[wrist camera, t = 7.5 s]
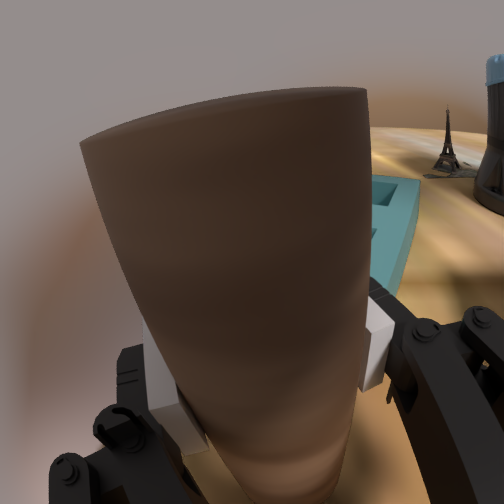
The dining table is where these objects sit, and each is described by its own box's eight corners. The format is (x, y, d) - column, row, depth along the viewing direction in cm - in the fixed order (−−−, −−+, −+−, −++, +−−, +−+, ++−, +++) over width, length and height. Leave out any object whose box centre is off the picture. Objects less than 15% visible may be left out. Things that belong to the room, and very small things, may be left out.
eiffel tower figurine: (426, 181, 48) (426, 105, 42) (405, 165, 57) (402, 100, 50) (489, 179, 47) (492, 111, 40) (463, 164, 55) (464, 103, 49)
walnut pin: (273, 419, 16) (205, 99, 8) (355, 449, 14) (389, 85, 6) (222, 487, 13) (39, 156, 5) (310, 528, 10) (277, 114, 2)
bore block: (332, 205, 43) (330, 171, 41) (418, 217, 37) (420, 180, 34) (231, 317, 26) (219, 267, 24) (372, 359, 20) (380, 304, 18)
